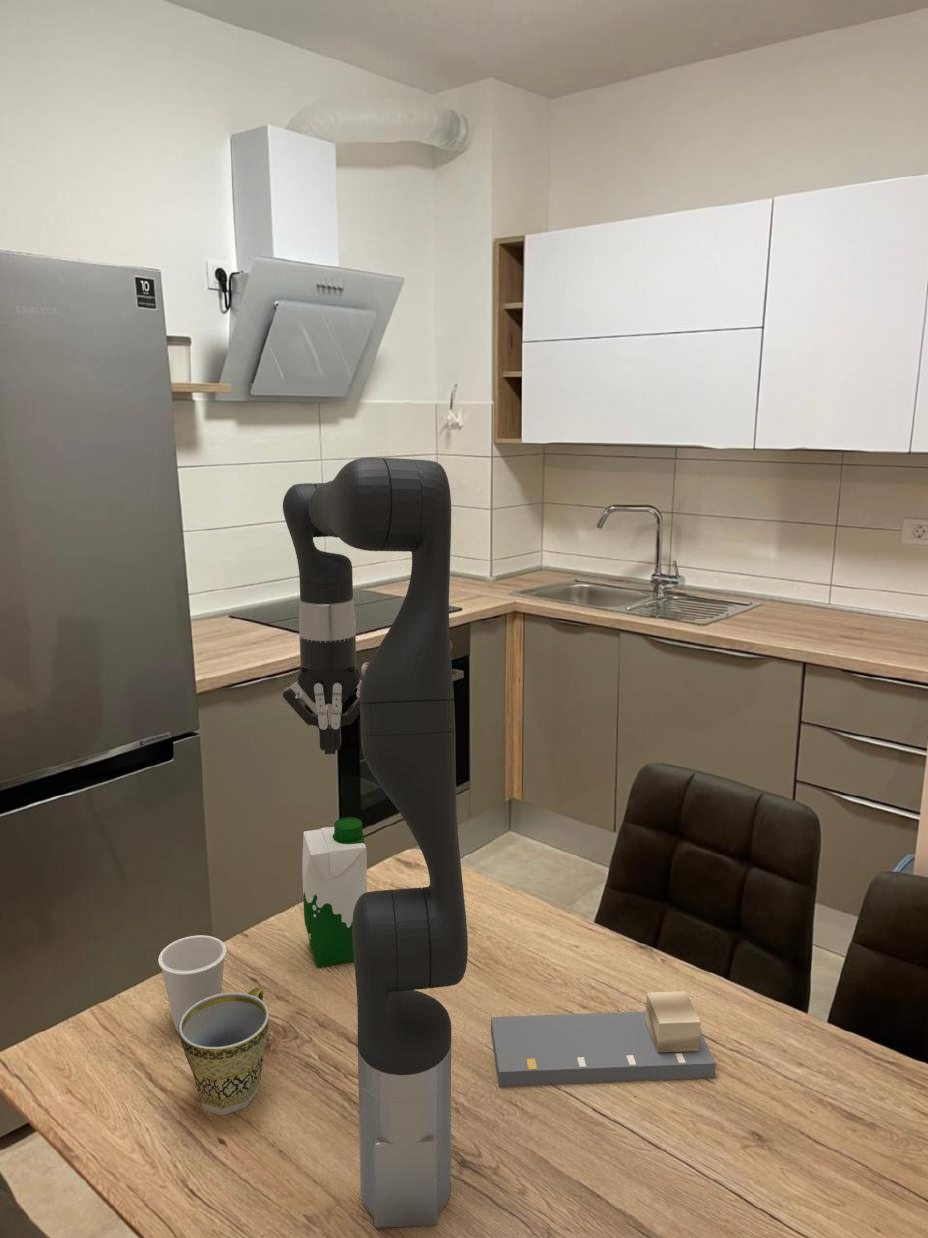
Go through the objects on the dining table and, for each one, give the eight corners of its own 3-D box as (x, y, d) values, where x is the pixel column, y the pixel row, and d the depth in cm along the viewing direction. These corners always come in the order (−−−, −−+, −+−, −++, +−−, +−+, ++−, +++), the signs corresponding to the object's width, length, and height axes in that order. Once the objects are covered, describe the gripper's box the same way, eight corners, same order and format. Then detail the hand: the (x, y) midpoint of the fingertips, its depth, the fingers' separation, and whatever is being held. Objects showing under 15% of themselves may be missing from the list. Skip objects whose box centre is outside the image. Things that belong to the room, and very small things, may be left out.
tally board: (714, 1077, 111) (715, 1062, 110) (498, 1086, 109) (499, 1071, 109) (689, 1023, 121) (690, 1009, 120) (490, 1030, 119) (491, 1016, 118)
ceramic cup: (242, 1136, 102) (238, 1057, 99) (165, 1113, 105) (159, 1036, 103) (300, 1059, 114) (297, 987, 111) (229, 1041, 117) (225, 970, 114)
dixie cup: (168, 1050, 115) (163, 979, 113) (159, 1011, 122) (153, 943, 120) (236, 1031, 119) (232, 962, 116) (223, 994, 126) (219, 928, 124)
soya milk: (373, 962, 133) (370, 834, 129) (310, 973, 131) (305, 843, 126) (361, 930, 141) (358, 808, 137) (301, 939, 139) (297, 816, 134)
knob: (698, 1051, 112) (700, 1022, 111) (657, 1052, 112) (659, 1023, 111) (683, 1019, 118) (685, 991, 117) (645, 1020, 118) (646, 992, 117)
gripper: (274, 639, 121) (279, 763, 125) (375, 638, 122) (377, 761, 126) (281, 625, 128) (286, 743, 132) (377, 624, 129) (379, 742, 133)
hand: (330, 752), depth 129 cm, fingers closed
